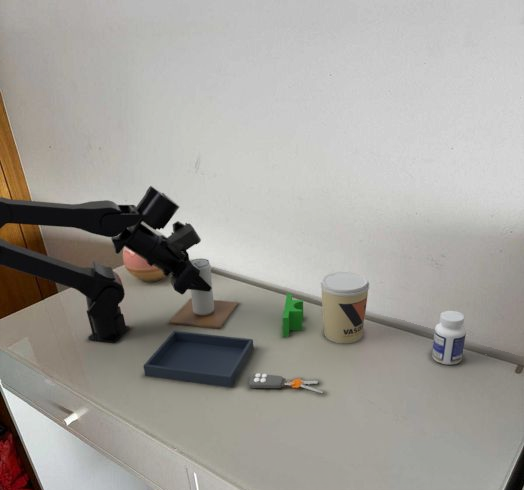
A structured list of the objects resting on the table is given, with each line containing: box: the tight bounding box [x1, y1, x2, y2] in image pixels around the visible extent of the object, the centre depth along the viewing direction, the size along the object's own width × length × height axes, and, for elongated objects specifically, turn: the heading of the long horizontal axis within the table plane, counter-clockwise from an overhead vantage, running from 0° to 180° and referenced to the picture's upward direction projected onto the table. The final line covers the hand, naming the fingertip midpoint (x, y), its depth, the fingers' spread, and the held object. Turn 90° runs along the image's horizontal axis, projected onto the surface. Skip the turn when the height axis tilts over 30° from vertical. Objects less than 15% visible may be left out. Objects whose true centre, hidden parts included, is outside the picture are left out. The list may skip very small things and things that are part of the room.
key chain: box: [248, 372, 323, 394], centre depth 87 cm, size 13×4×2 cm, turn 80°
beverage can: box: [190, 257, 214, 316], centre depth 110 cm, size 5×5×12 cm
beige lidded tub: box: [320, 271, 370, 344], centre depth 99 cm, size 9×9×12 cm
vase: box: [122, 221, 168, 283], centre depth 129 cm, size 14×14×18 cm
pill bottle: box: [431, 310, 467, 366], centre depth 91 cm, size 5×5×9 cm
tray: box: [142, 330, 255, 388], centre depth 95 cm, size 17×13×2 cm
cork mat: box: [169, 297, 239, 330], centre depth 113 cm, size 12×12×1 cm
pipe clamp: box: [282, 293, 304, 338], centre depth 106 cm, size 11×4×5 cm, turn 173°
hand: (207, 285), depth 110 cm, fingers closed on beverage can, 5 cm apart
